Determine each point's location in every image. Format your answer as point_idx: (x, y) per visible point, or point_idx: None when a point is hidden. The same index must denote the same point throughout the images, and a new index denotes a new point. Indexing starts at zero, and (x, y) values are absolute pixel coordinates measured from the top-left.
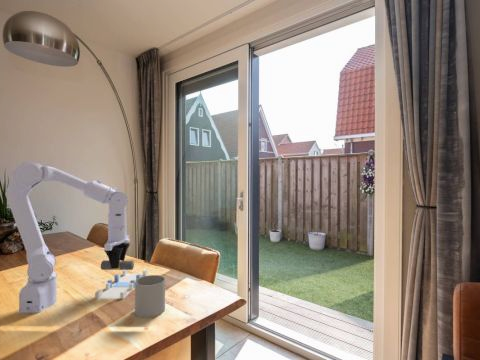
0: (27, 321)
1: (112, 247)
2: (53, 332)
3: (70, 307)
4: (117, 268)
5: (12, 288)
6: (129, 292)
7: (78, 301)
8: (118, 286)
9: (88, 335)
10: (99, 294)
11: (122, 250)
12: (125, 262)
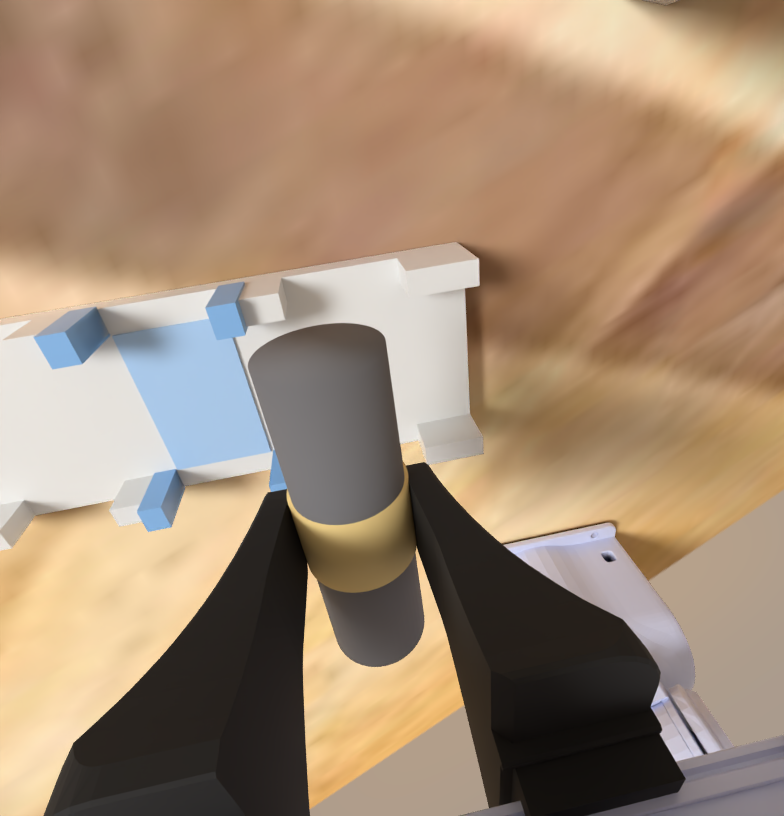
0: (648, 533)
1: (695, 782)
2: (772, 383)
3: (531, 484)
4: (426, 464)
5: (366, 754)
6: (336, 269)
7: (462, 497)
8: (253, 416)
9: None
10: (461, 428)
11: (270, 677)
12: (380, 445)
